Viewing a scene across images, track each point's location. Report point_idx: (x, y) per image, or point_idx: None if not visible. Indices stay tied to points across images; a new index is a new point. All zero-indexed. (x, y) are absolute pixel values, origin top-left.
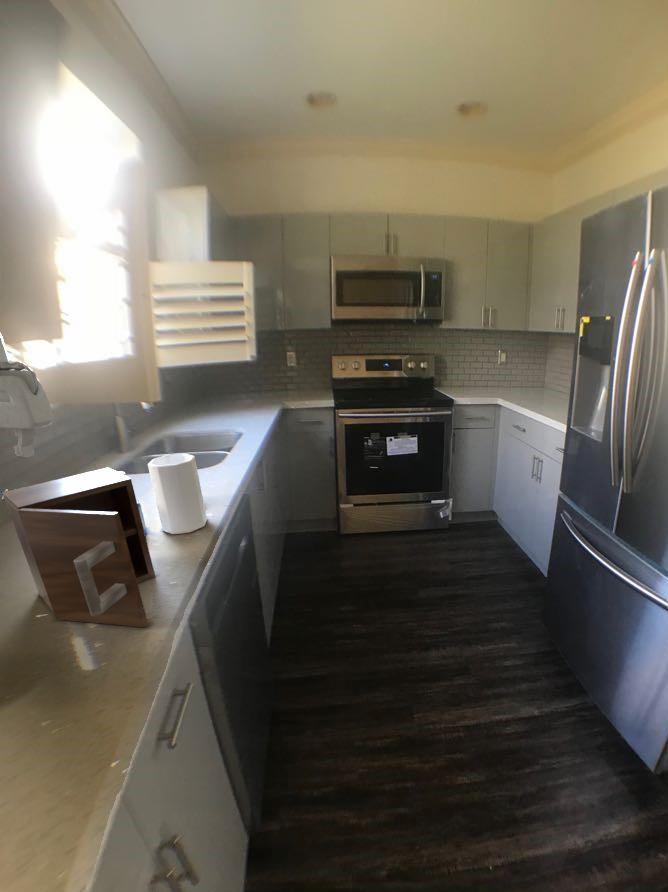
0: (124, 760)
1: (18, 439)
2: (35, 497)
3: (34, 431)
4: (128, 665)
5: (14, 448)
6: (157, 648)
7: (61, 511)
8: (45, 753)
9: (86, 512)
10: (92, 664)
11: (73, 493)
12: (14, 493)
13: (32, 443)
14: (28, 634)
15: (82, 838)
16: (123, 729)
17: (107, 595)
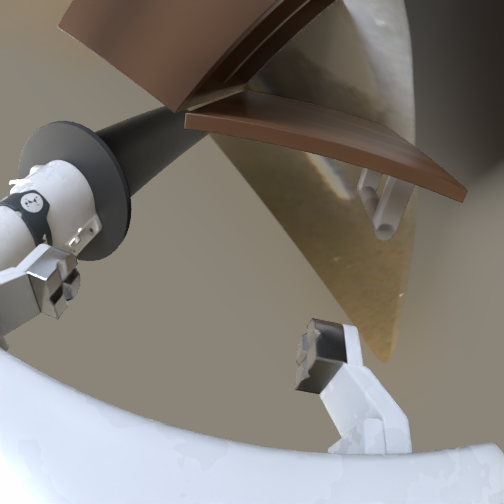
0: (406, 293)
1: (338, 428)
2: (166, 41)
3: (406, 427)
4: None
5: (297, 381)
6: None
7: (324, 150)
8: (350, 284)
9: (398, 173)
10: (346, 191)
11: (269, 7)
12: (88, 25)
13: (368, 369)
14: None
15: (393, 329)
16: (401, 271)
17: (377, 175)
